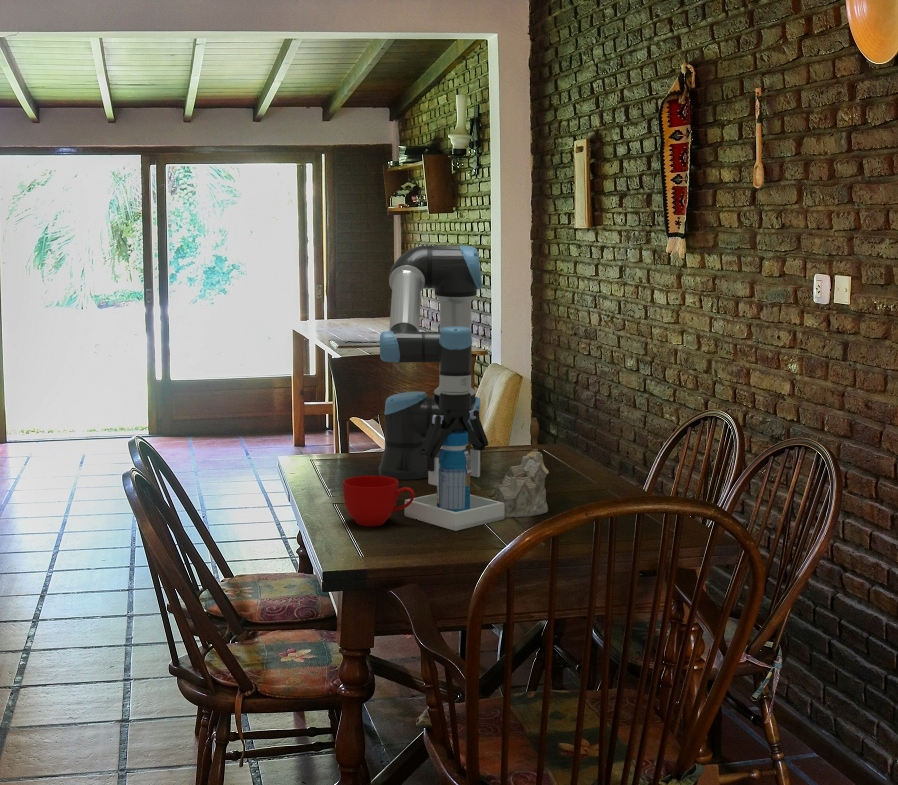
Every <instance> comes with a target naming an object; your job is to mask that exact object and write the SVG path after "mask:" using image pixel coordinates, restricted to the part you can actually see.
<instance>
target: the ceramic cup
mask: <svg viewBox="0 0 898 785" xmlns="http://www.w3.org/2000/svg"><path fill="white" fill-rule="evenodd" d="M342 490H343V492H342V493H343V499H344V504H345V507H346V510H347V512H348V515H350V517H351V518H352V520H353V521H355V522H356V525H358V524H359V525H358V526H362V525H363V527H378V526H383V525H384V524H386V522H387V520H389V518H390V517H391V515H392V514H393V513H394V512H396V511H400V510H403V509H405V508H406V507H408V506H409V505H410V504H411V503H412V501H413V500H414V498H415V492H414V490H413V489H412V488H411V487H407V486H406V487H401V488H399V479H395V478H391V477H386V476H380V475H358V476H352V477H348V478H345V479H344V480H343V481H342ZM404 491H407V492H409V493H410V494H411V495H410V498H409V499H410V501H409V502H408V503H407V504H405V503H404V504H402V505H400V506H396V505H397V500H398V497H399V495H400V494H401V493H402V492H404Z"/></svg>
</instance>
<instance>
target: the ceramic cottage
mask: <svg viewBox="0 0 898 785" xmlns="http://www.w3.org/2000/svg"><path fill="white" fill-rule="evenodd" d="M541 454H542V452H540V451H538V452H537V453H536V456H534V458H533V460H530V459H529V457H528V456H527V455H523V456H522V458H521V461H520V462H521V463H520V465H515V466H514V465H511V466H509V468H508V469H507V472H506V474H504V477H503V478H502V479H501V480H500V484H498V485H497V486H496V488H495V490H494V491H493V492H492V495H493V496H494V497H493V499H492V500H495V501H499V502H503V503H505V508H504V519H507V518H513V517H514V518H519V517H520V518H521V517H526V518H527V517H532V516H537V515H542V514H545V513H548V512H549V506H548V504H547V498H546V496H547V493H546V492H547V490H546V487H545V483H546V477H547V474H546V472H545V471H544V470H543V468H542V466H541V459H540V455H541Z"/></svg>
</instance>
